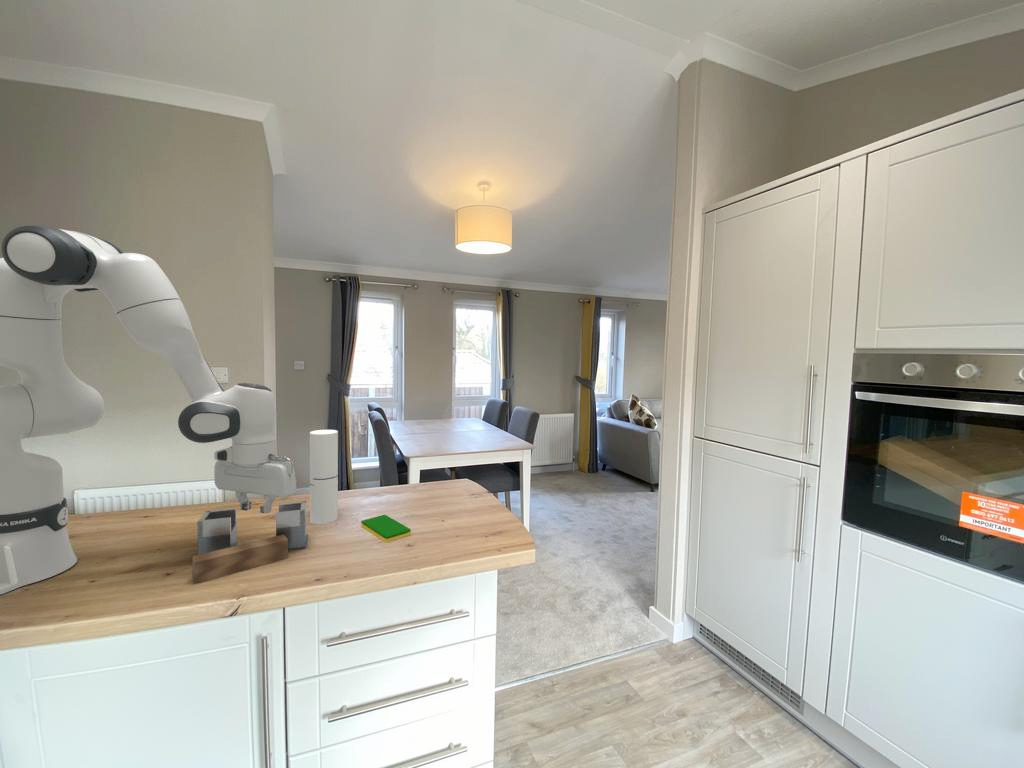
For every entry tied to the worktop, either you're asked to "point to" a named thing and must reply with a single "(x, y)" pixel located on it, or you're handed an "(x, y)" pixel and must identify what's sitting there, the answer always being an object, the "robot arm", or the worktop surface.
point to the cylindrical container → (323, 476)
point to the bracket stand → (222, 533)
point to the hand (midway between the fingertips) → (255, 511)
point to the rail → (239, 558)
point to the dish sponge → (385, 528)
